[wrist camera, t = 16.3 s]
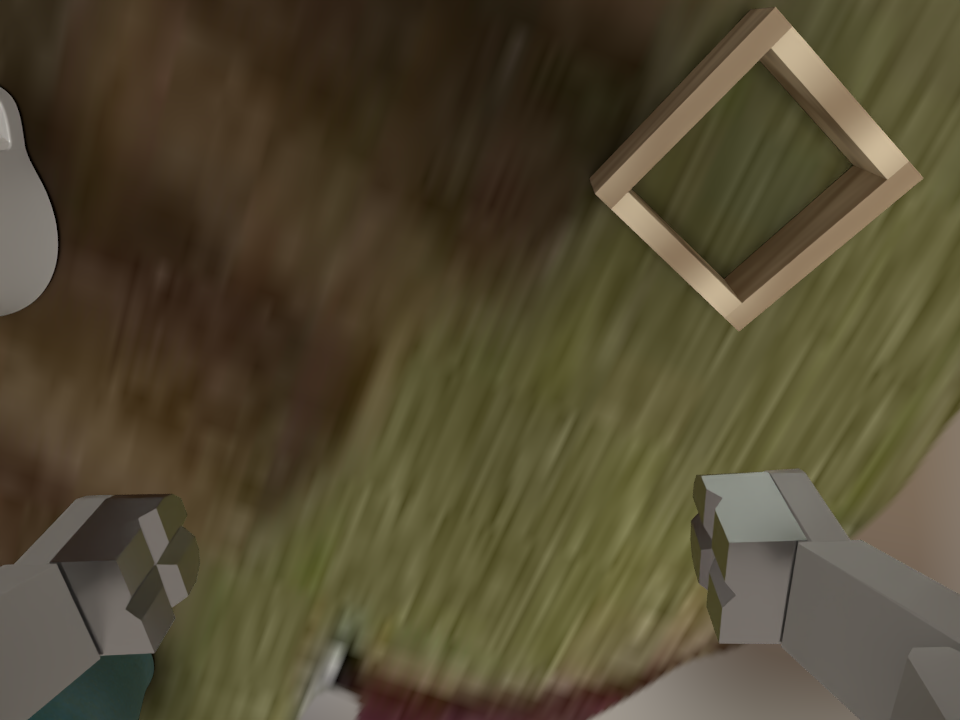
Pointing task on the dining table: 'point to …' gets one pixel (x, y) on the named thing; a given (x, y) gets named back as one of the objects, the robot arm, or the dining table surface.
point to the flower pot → (103, 691)
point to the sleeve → (810, 232)
